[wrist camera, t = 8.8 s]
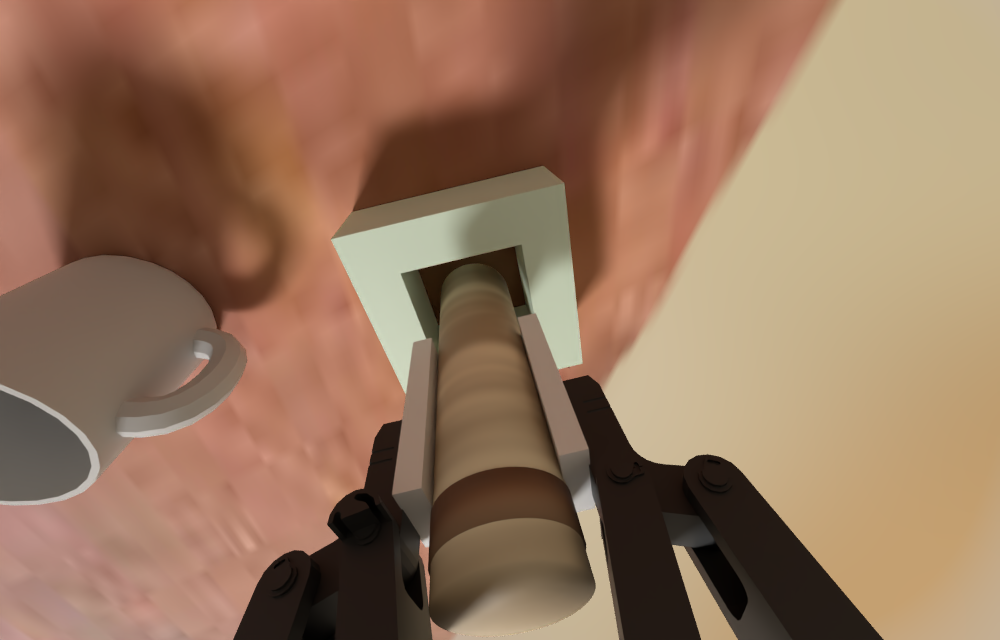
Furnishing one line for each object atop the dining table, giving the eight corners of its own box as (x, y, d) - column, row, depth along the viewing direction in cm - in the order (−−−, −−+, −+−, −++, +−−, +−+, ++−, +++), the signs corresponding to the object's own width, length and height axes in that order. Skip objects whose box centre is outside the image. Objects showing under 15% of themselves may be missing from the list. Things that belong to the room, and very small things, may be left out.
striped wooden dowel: (430, 272, 19) (400, 585, 7) (501, 255, 19) (591, 540, 7) (450, 330, 21) (453, 649, 9) (514, 315, 21) (602, 615, 9)
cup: (40, 237, 18) (-260, 348, 10) (271, 274, 20) (165, 387, 12) (86, 355, 21) (-110, 502, 14) (277, 375, 24) (198, 510, 16)
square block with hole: (351, 211, 19) (330, 239, 15) (543, 165, 19) (564, 182, 15) (415, 360, 24) (410, 404, 21) (563, 324, 24) (582, 363, 21)
